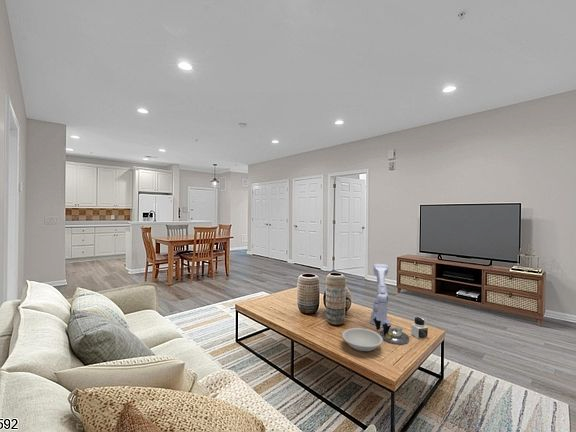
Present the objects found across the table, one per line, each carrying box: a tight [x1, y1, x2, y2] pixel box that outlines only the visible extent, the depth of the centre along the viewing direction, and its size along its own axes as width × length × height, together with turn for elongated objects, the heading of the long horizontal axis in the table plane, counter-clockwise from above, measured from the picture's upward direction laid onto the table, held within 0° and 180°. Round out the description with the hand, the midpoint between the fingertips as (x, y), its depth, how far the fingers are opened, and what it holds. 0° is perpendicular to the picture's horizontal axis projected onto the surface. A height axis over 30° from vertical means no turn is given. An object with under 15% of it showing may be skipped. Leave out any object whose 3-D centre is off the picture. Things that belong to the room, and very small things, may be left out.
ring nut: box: [386, 326, 403, 339], centre depth 180 cm, size 9×16×3 cm, turn 142°
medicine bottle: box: [410, 316, 429, 340], centre depth 183 cm, size 7×7×12 cm
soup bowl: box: [341, 327, 384, 352], centre depth 168 cm, size 24×24×7 cm
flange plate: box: [379, 329, 410, 346], centre depth 180 cm, size 18×18×2 cm
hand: (381, 332), depth 182 cm, fingers open, 7 cm apart
